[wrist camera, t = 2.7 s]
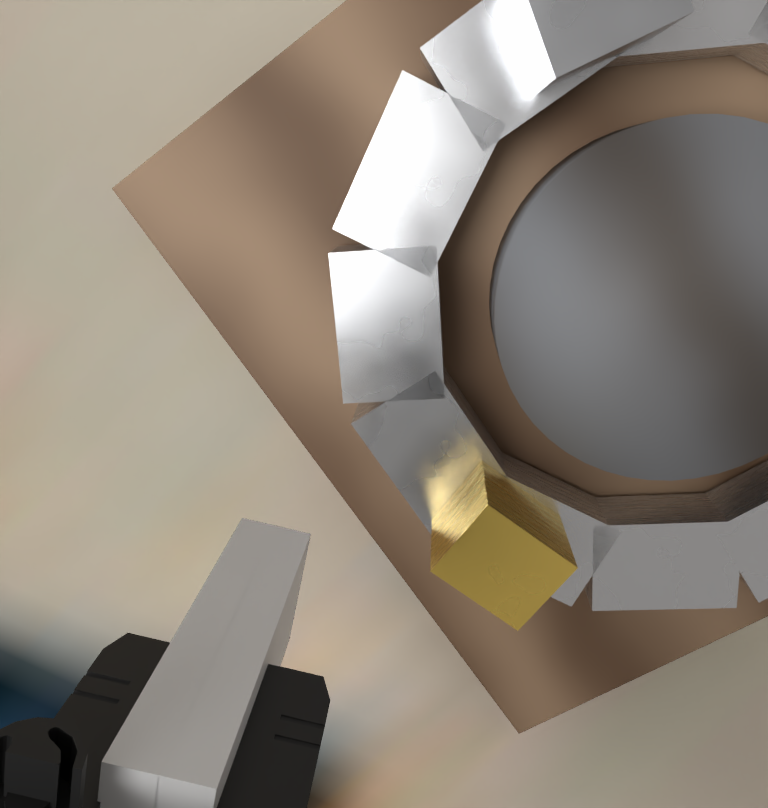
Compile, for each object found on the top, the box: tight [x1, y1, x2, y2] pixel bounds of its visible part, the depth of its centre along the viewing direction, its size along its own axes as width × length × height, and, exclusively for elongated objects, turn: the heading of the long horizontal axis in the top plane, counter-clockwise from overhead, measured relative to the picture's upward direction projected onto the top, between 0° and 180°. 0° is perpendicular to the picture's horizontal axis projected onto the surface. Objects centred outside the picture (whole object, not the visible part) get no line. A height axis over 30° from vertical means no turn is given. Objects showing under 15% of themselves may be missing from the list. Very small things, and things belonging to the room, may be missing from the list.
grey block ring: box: [328, 0, 768, 631], centre depth 19 cm, size 19×19×5 cm
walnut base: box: [112, 0, 768, 733], centre depth 22 cm, size 24×24×4 cm
